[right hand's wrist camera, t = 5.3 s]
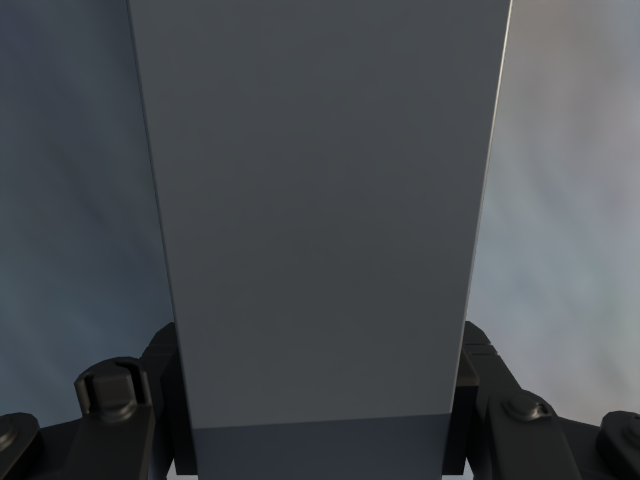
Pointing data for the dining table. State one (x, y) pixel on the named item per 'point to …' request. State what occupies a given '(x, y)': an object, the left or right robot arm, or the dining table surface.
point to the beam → (319, 221)
